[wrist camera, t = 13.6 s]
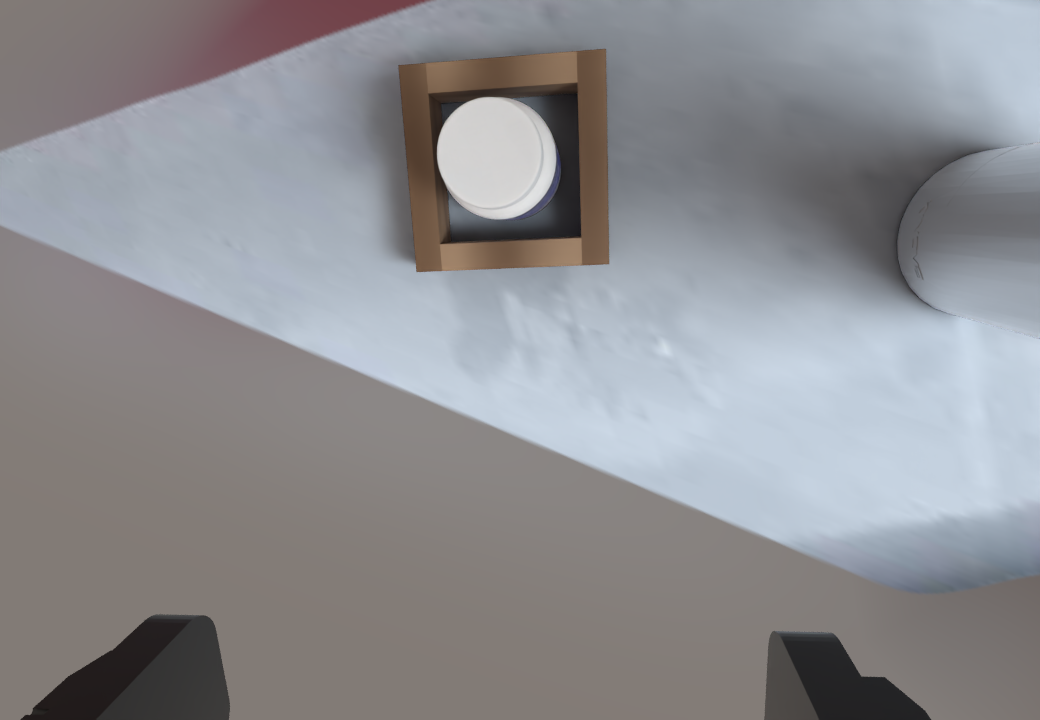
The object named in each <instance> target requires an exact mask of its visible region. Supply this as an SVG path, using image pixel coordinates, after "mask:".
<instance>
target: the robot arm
mask: <svg viewBox="0 0 1040 720" xmlns="http://www.w3.org/2000/svg"><path fill="white" fill-rule="evenodd" d="M897 248H898V260H899V264H900V268H901V272H902V274H903V276H904V278H905V280H906V281H907V283H908V285H909V287H910V288H911V289H912V290H913V291H914V292H915V294H916V295H917V296H918V297H919V298H920V299H921V300H923V301H924V302H926V303H927V304H929V305H930V306H932V307H933V308H936V309H938V310H941V311H943V312H946V313H948V314H952V315H955V316H959V317H963V318H966V319H970V320H974V321H977V322H981V323H985V324H988V325H991V326H994V327H998V328H1002V329H1005V330H1009V331H1013V332H1016V333H1020V334H1024V335H1027V336H1031V337H1035V338H1038V339H1040V142H1037V143H1031V144H1025V145H1018V146H1012V147H1005V148H999V149H992V150H986V151H982V152H978V153H974V154H970V155H967V156H965V157H962V158H960V159H958V160H956V161H954V162H951V163H949V164H948V165H946V166H945V167H944V168H942V169H941V170H939V171H938V172H936V173H935V174H934V175H932V176H931V177H930V178H929V179H928V180H927V181H926V182H925V183H924V184H923V185H922V186H921V188H920V189H919V190H918V191H917V193H916V194H915V196H914V197H913V199H912V200H911V202H910V203H909V204H908V207H907V209H906V211H905V214H904V216H903V218H902V221H901V224H900V229H899V234H898V239H897ZM229 712H230V703H229V696H228V691H227V685H226V680H225V675H224V670H223V664H222V659H221V654H220V649H219V643H218V639H217V633H216V628H215V625H214V623H213V621H212V620H211V619H210V618H209V617H207V616H199V615H153V616H151V617H149V618H148V619H146V620H145V621H144V622H143V623H142V624H141V625H139V626H138V627H137V628H136V629H135V630H134V631H133V632H132V633H131V634H130V635H129V636H128V637H126V638H125V639H124V640H123V641H122V642H121V643H120V644H119V645H118V646H117V647H116V648H115V649H114V650H112V651H109V652H108V653H106V654H104V655H103V656H101V657H99V658H98V659H96V660H95V661H93V662H91V663H90V664H88V665H86V666H85V667H83V668H82V669H80V670H78V671H77V672H75V673H73V674H72V675H70V676H68V677H67V678H66V679H65V680H64V681H63V682H62V683H61V684H60V685H58V686H57V687H56V688H55V689H54V690H53V691H52V692H51V693H49V694H48V695H47V696H46V697H45V698H44V699H43V700H42V701H41V702H40V703H38V704H37V705H36V706H35V707H34V708H33V712H32V714H31V715H25V716H24V717H23V718H22V719H21V720H229ZM765 720H931V719H930V717H929V716H928V714H927V713H926V712H925V710H923V709H922V708H921V707H920V706H919V705H917V704H916V703H915V702H914V701H913V700H911V699H910V698H909V697H908V696H907V695H905V694H904V693H903V692H902V691H901V690H899V689H898V688H897V687H896V686H895V685H893V684H892V683H891V682H890V681H888V680H887V679H886V678H885V677H861V675H860V674H859V672H858V671H857V669H856V667H855V665H854V664H853V662H852V661H851V659H850V657H849V655H848V654H847V652H846V650H845V649H844V647H843V645H842V644H841V642H840V641H839V639H838V638H837V637H836V636H835V635H834V634H833V633H824V632H784V631H773V632H772V633H771V635H770V639H769V646H768V664H767V684H766V701H765Z"/></svg>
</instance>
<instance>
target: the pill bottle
mask: <svg viewBox="0 0 1040 720" xmlns="http://www.w3.org/2000/svg"><path fill="white" fill-rule="evenodd" d="M437 161H438V166H439V171H440V173H441V176H442V178H443V180H444V182H445V185H446V187H447V188H448V190H449V192H450V193H451V195H452V196H453V197H454V199H455V200H456V201H457V202H458V203H459V204H460V205H461V206H463V207H464V208H465V209H467V210H468V211H470V212H472V213H474V214H476V215H478V216H481V217H484V218H488V219H494V220H520V219H525V218H528V217H530V216H533V215H535V214H536V213H538V212H539V211H541V210H542V209H543V208H544V207H546V205H547V204H548V203H549V202H550V201H551V199H552V198H553V196H554V195H555V193H556V191H557V188H558V186H559V182H560V177H561V159H560V155H559V151H558V148H557V146H556V144H555V141H554V138H553V136H552V134H551V132H550V130H549V128H548V126H547V124H546V123H545V122H544V120H543V119H542V118H541V117H540V116H539V115H538V114H537V113H536V112H535V111H534V110H533V109H532V108H530V107H529V106H527V105H525V104H523V103H521V102H519V101H516V100H513V99H510V98H504V97H482V98H477V99H474V100H471V101H469V102H466V103H465V104H463V105H461V106H460V107H458V108H457V109H456V110H455V111H454V112H453V113H452V114H451V115H450V116H449V117H448V119H447V120H446V122H445V123H444V125H443V127H442V129H441V132H440V135H439V138H438V144H437Z"/></svg>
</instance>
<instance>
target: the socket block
mask: <svg viewBox="0 0 1040 720" xmlns="http://www.w3.org/2000/svg"><path fill="white" fill-rule="evenodd" d="M398 66H399V77H400V88H401V100H402V111H403V123H404V134H405V145H406V157H407V168H408V179H409V191H410V202H411V214H412V225H413V236H414V248H415V259H416V271H417V272H428V271H452V270H477V269H501V268H526V267H550V266H575V265H599V264H609V224H608V156H607V87H606V49H597V50H584V51H572V52H559V53H547V54H534V55H522V56H509V57H496V58H484V59H471V60H459V61H446V62H434V63H421V64H409V65H398ZM575 93H578V123H579V163H580V204H581V236H570V237H548V238H526V239H504V240H483V241H461V242H451V233H450V220H449V206H448V193H447V187H446V185H445V182H444V180H443V178H442V176H441V173H440V171H439V166H438V161H437V144H438V138H439V135H440V132H441V129H442V127H443V125H442V111H441V103H450V102H464V101H471V100H474V99H477V98H482V97H504V98H520V97H534V96H547V95H561V94H575Z"/></svg>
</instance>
